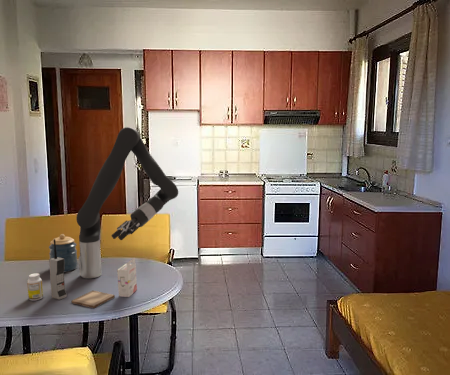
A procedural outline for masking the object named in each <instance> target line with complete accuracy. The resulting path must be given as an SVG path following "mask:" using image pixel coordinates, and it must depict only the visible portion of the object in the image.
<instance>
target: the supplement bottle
mask: <svg viewBox="0 0 450 375" xmlns="http://www.w3.org/2000/svg"><path fill="white" fill-rule="evenodd" d="M26 282H27V283H26V284H27V296H28V300H29V301H33V302H34V301H39V300H41V299H43V298H44V290H43V280H42V278H41V277H40V273H37V272H36V273H31V274H29V275H28V279H27V281H26Z"/></svg>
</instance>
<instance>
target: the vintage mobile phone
mask: <svg viewBox="0 0 450 375" xmlns="http://www.w3.org/2000/svg"><path fill="white" fill-rule="evenodd" d="M53 239H54V255H55V257H54V258H52V259H50V258H49V260H48V261H49V264H48V265H49V278H50V291H51V292H50V294H51V299H52V298H53V299H56V300H58V301H59V300H63V299H65V298H67V297H68V296H67V295H68V294H67V292H66V288H65V286H66V285H65V272H64V258H59V257H57V252H56V242H55V238H53Z"/></svg>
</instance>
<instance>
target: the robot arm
mask: <svg viewBox="0 0 450 375" xmlns="http://www.w3.org/2000/svg"><path fill="white" fill-rule="evenodd" d="M131 152H132V154H133V155H134V156H135V157H136V158H137V160H138V161H139V164H140V166H141V167H142V169H143V171H144V172H145V174H146V175H147V177H148V178H149V180H150V181H151V182H152V184H153V185H154V186H158V187H159V190H158V191H157V192H156V193H155V194H154V195H153V196H152V197H150V198H149V199H148V200H147V201H146V202H144V203H143V204H141V205H140V206H139V207H138V208H136V210H134V211H133V212H132V213H131V214H130V215H129V216H130V220H125V221H124V222H122V223H121V224H120V225H118V226H117V228H116V231H114V232H113V233H112V234H111V238H112V239H114V240H115V239H116V238H117V239H119V240H120V241H123V240H124V239H125V238H126V237H127V236H129V235H133V234H134V233H135V232H136V231H137V230H138V229H140V228H142V227H143V226H145V224H147V223H148V222H150V220H152V219H153V218H154V216H155V215H156V214H158V213H159V212H160V211H161V210H162V209H163V207H164V206H165V205H166V204H167V203H169V201H172V200H174V199H176V198H177V197H178V195H179V189H178V186H177V185H176V184H175V182H173V181H172V179H170V177H168V176H167V175H166V174H165V172H164V170H163V169H162V168H161V167H160V165H159V164H158V162H157V161H156V160H155V158H154V157H153V156H152V155H151V153H150V151H149V150H148V149H147V147H146V145H145V144H144V142H143V139H142V138H141V135H140V133H139V131H138V130H137V129H136V128H135V127H131V126H126V127H123V128H122V129H120V131H119V132H118V134H117V137H116V139H115V142H114V145H113V146H112V149H111V151H110V153H109V155H108V157H107V158H106V160H105V161H104V163H103V165H102V166H101V168H100V169H99V171H98V174H97V176H96V178H95V180H94V181H93V185H92V187H91V190H90V191H89V194H88V196H87V198H86V200H85V202H84V203H83V205H82V206H81V208H80V209H79V211H78V212H77V213H76V222H77V225H78V226H79V227H80V229H79V230H80V231H79V236H78V238H79V239H78V240H79V241H78V242H79V256H78V267H79V277H81V278H83V279H94V278H99V277H100V276H101V275H102V261H101V260H102V258H101V257H102V256H101V240H100V238H101V237H100V235H101V217H100V216H101V214H100V211H101V210H102V206H103V205H104V203H105V202H106V201H107V199H108V198H109V197H110V195H111V193H112V192H113V190H114V189H115V187H116V185H117V184H118V182H119V179H120V178H121V175H122V171H123V169H124V166H125V162H126V160H127V158H128V157H129V155H130V153H131Z"/></svg>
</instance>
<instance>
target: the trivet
mask: <svg viewBox="0 0 450 375" xmlns="http://www.w3.org/2000/svg"><path fill="white" fill-rule="evenodd" d="M115 296H116V295H115V294H112V293H107V292H103V291H98V290H91V291H87V292H86V293H84V294H82V295H80V296H78V297H76V298H74V299H72V300H71V304H75V305H78V306H79V305H80V306H83V307H87V308H92V309H95V308H97V307H100V306H101V305H104V304H105V303H107V302H108V301H110V300H113V299H114V298H115Z"/></svg>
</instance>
